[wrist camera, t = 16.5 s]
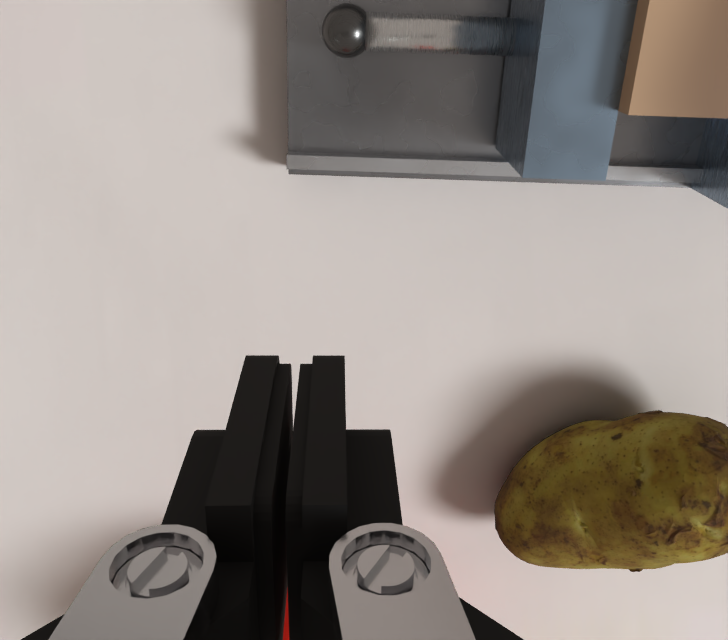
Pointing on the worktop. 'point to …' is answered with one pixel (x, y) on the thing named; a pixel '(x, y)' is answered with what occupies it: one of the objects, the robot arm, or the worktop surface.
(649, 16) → the walnut block
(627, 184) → the vise bed
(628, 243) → the worktop surface
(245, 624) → the robot arm
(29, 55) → the worktop surface
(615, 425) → the potato
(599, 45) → the sliding jaw
